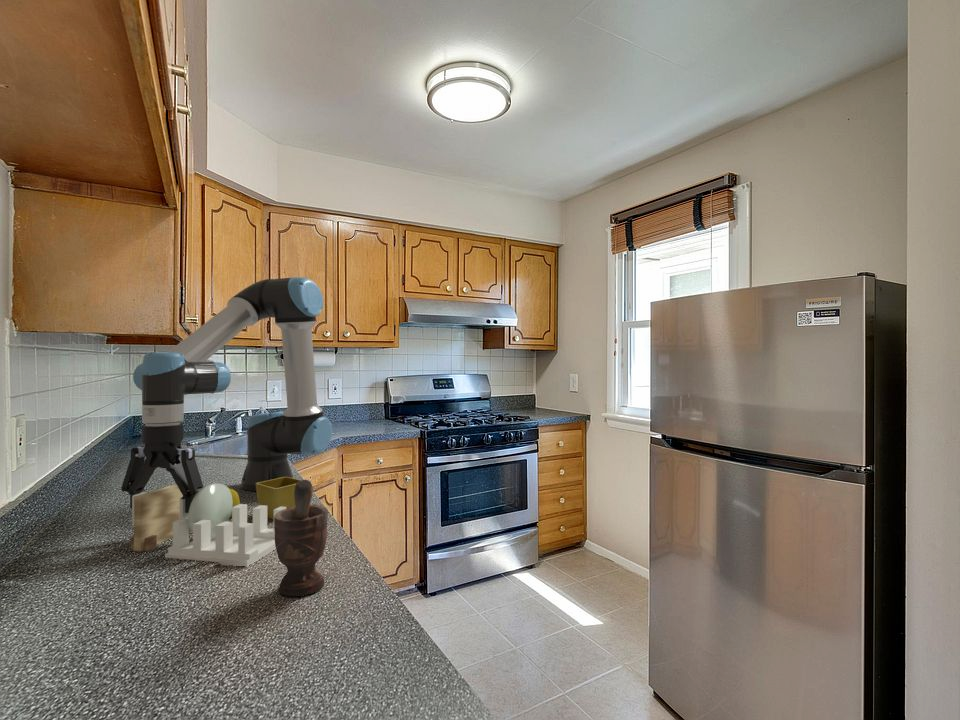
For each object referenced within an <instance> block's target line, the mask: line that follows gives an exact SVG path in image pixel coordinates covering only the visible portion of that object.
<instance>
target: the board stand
mask: <svg viewBox="0 0 960 720" xmlns="http://www.w3.org/2000/svg"><path fill="white" fill-rule="evenodd" d="M190 533H192V532H191V531H190V528H189V534H190ZM157 545H158V544H157V535H151V536H149V537H147V538H145V544H144V550H143V551H142V552H149V551H152V550H154V549H156V548H157ZM131 550H132V551H134V535H133V536H130V551H131Z"/></svg>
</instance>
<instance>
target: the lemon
mask: <svg viewBox="0 0 960 720" xmlns="http://www.w3.org/2000/svg"><path fill="white" fill-rule="evenodd" d="M228 489H229V490H230V492H231V495H232V500H233V506H232V507H234V506H236V505H239V504H241V502H240V496H239V493H238V492H237V491H236V490H235V489H233V488H230V487H228ZM230 518H232V512H231V516H230Z"/></svg>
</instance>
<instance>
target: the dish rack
mask: <svg viewBox="0 0 960 720" xmlns="http://www.w3.org/2000/svg"><path fill="white" fill-rule="evenodd" d="M284 509H286V507H281V506H280V507H278V508H276V509H274V516H275V515H276V513H278V512H279V511H281V510H284ZM272 526H273V528H269V527H268V518H267V506H265V505H258V506H255V507H254V508H252V522H251V523H250V522H248V504H244V503H240V504H239V505H236V506H234V507H232V517H231V521H228V522H227V521H225V522H222V523H220V524H218V525H216V536H215V537H213V538H211V520H201V521H199V522H197V523H194V524H193V534H192V540H191V541H190V538H189V537H190V533H189V524H188V519H184V518H183V519H180V520H178V521H175V522H173V538H172V545H171V546H169V547H168V549H167V550H168V551H167V552H166V553H164V558H167V559H179V560H191V561H204V562H215V563H216V564H221V565H220V566H225V565H233V566H232V567H236V566H245V567H244V568H249V567H250V566H251V565H250V564H252V565H253V564H255V563H256V562H258V561H260V560H261V559H263V558H264V557H266V556H268V555H269V554H271V553H272V552H274V551H275V550H276V546H275V529H274V524H273V525H272ZM273 550H274V551H273ZM270 552H271V553H270ZM262 557H263V558H262ZM259 559H260V560H259ZM254 562H255V563H254ZM249 565H250V566H249Z"/></svg>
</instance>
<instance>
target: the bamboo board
mask: <svg viewBox="0 0 960 720" xmlns="http://www.w3.org/2000/svg"><path fill="white" fill-rule="evenodd" d="M182 497H183V495H182V493H181V491H180V490H179V488H178V486H177V484H176V483H174V484H171V485H168V486H164V487H161V488H158V489H155V490H154V489H153V490H151V491H148V492H145V493H144V494H141V495H138V496H135V497H134V526H133V536H134V550H133V551H134V552H144V551H143V550H144V544H145V538H147V537H149V536H151V535H157V545H159V544H161V543H163V542H166V541H168V540H171V539H173V522H175V521H178V520H179V518H180V498H182Z"/></svg>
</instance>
